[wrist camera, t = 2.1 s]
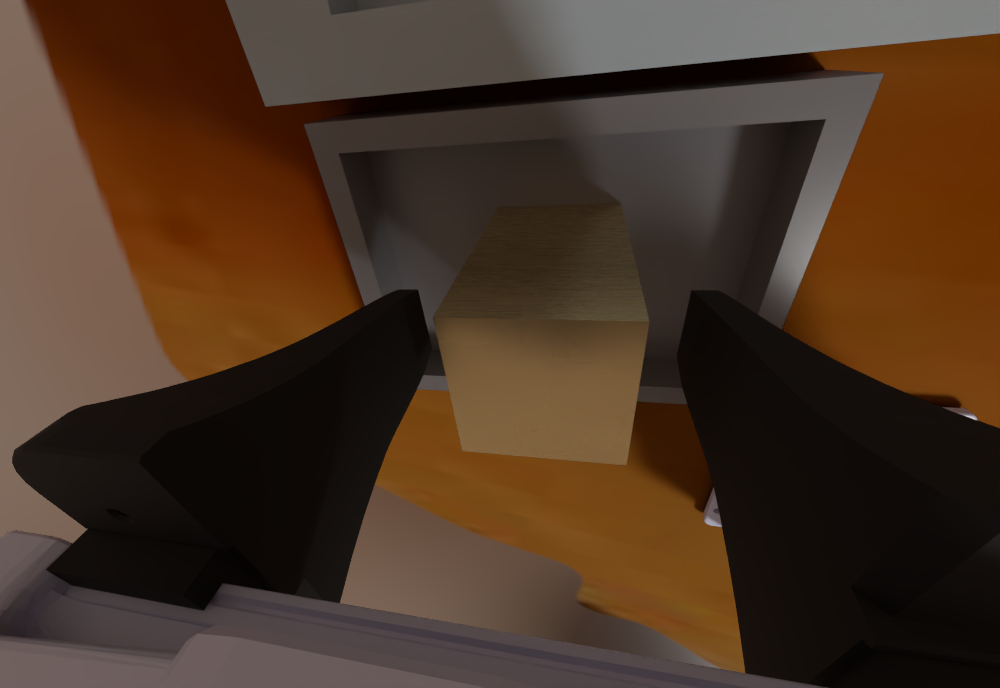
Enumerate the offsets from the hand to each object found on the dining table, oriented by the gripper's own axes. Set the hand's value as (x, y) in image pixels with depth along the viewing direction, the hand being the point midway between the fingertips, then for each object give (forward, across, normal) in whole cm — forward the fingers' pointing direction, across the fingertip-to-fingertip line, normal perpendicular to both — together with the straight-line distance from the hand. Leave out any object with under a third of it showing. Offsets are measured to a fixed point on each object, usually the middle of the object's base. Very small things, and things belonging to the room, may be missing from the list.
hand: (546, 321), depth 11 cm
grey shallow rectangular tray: (+5, 0, 0) cm, 5 cm away
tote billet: (+4, 0, 0) cm, 4 cm away
